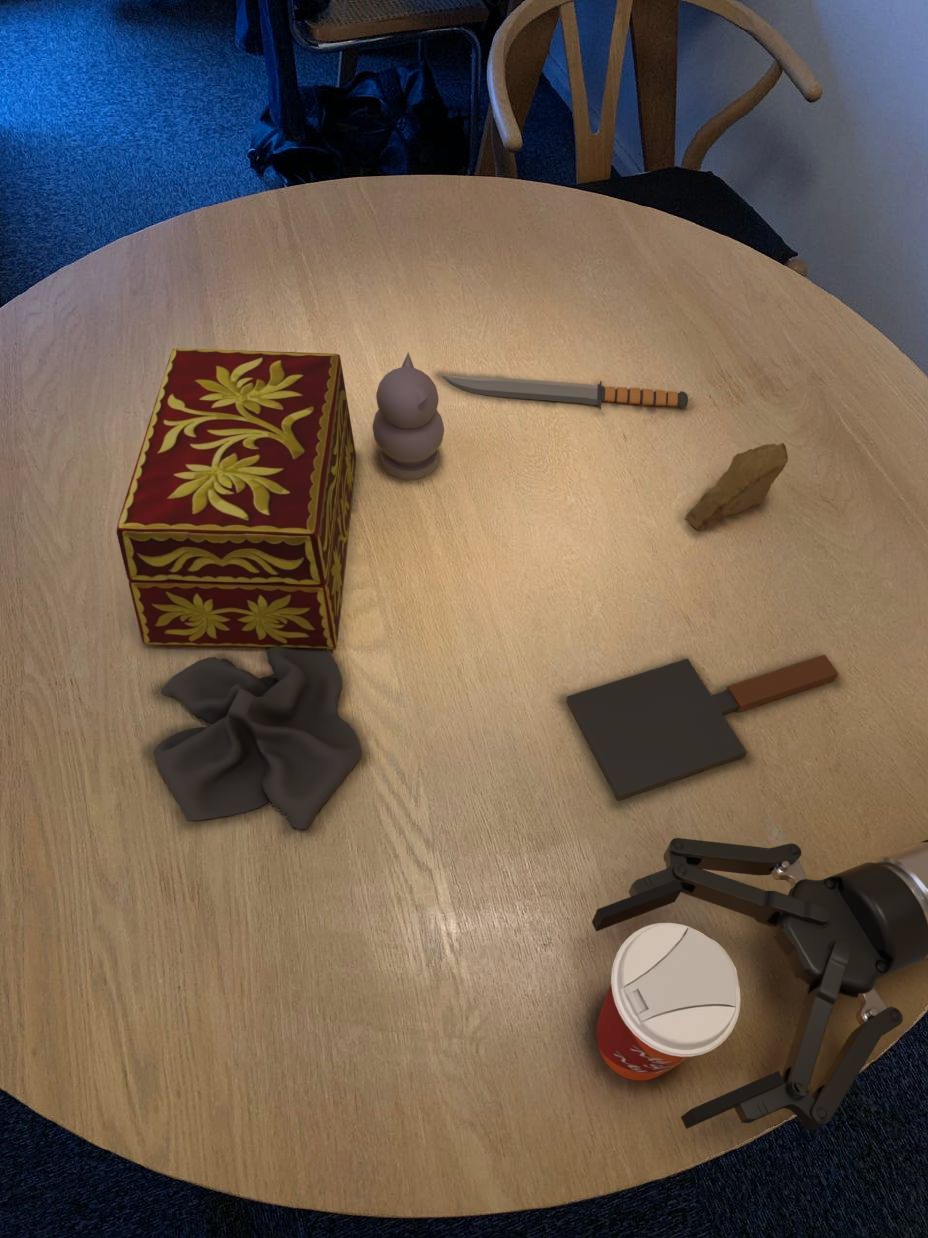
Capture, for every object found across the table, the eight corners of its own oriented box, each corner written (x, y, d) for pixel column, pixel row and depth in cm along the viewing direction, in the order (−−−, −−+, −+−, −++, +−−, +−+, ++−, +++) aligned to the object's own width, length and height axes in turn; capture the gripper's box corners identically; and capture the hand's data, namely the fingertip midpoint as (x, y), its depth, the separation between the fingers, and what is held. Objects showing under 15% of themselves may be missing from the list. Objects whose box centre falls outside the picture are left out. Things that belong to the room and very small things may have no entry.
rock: (699, 538, 98) (793, 523, 98) (693, 457, 96) (789, 442, 96) (673, 519, 109) (758, 506, 108) (667, 445, 106) (754, 432, 106)
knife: (438, 392, 113) (442, 365, 116) (438, 400, 114) (442, 373, 117) (689, 411, 112) (688, 383, 114) (687, 419, 113) (685, 391, 116)
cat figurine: (365, 441, 108) (360, 355, 99) (430, 428, 110) (432, 343, 100) (385, 492, 103) (382, 407, 94) (452, 478, 105) (456, 394, 96)
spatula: (860, 716, 88) (865, 709, 88) (617, 801, 82) (620, 794, 81) (796, 628, 94) (800, 620, 94) (565, 700, 88) (567, 693, 87)
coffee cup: (614, 1118, 67) (658, 1075, 55) (561, 1008, 71) (591, 946, 59) (712, 1067, 69) (774, 1015, 57) (655, 964, 74) (702, 895, 62)
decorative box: (337, 650, 90) (325, 545, 78) (142, 646, 89) (100, 539, 77) (357, 455, 107) (349, 345, 95) (193, 450, 106) (165, 338, 94)
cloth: (362, 829, 80) (358, 797, 75) (139, 839, 78) (120, 807, 73) (361, 620, 93) (358, 581, 88) (171, 625, 91) (157, 586, 87)
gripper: (983, 1095, 65) (717, 1223, 60) (788, 787, 78) (558, 869, 73) (1041, 1073, 59) (751, 1212, 54) (819, 743, 72) (571, 829, 67)
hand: (639, 1014), depth 63 cm, fingers open, 13 cm apart
